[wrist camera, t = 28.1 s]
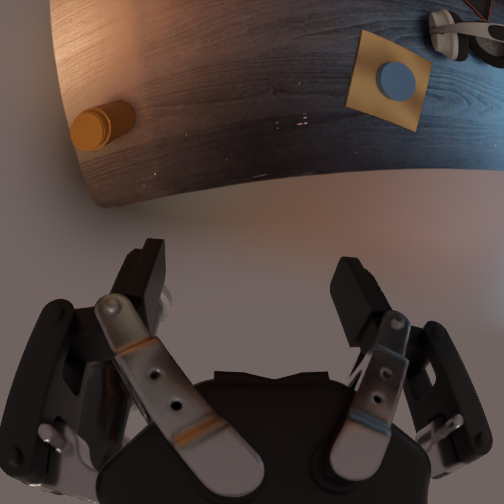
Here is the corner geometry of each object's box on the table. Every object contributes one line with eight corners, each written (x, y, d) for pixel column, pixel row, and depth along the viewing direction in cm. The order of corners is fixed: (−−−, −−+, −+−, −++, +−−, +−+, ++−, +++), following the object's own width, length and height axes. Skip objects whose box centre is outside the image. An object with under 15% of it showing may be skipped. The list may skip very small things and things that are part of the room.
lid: (381, 54, 27) (387, 54, 26) (414, 72, 28) (420, 73, 27) (370, 89, 31) (375, 90, 29) (403, 106, 32) (409, 108, 30)
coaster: (413, 131, 34) (415, 132, 34) (344, 106, 33) (345, 106, 32) (430, 62, 28) (432, 62, 27) (361, 29, 26) (362, 29, 26)
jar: (138, 131, 34) (110, 148, 26) (105, 139, 34) (73, 159, 26) (131, 96, 31) (100, 103, 23) (99, 106, 31) (63, 117, 23)
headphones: (483, 24, 21) (570, 35, 4) (492, 66, 25) (579, 92, 9) (401, 9, 23) (500, -8, 7) (414, 60, 28) (519, 72, 11)
